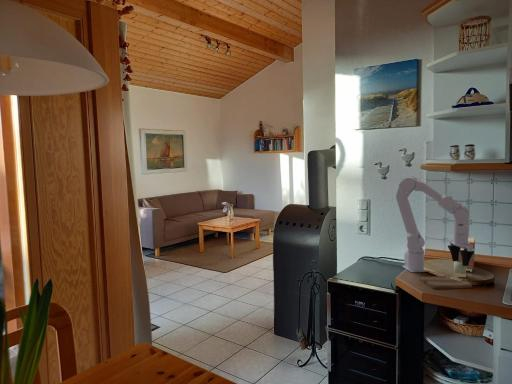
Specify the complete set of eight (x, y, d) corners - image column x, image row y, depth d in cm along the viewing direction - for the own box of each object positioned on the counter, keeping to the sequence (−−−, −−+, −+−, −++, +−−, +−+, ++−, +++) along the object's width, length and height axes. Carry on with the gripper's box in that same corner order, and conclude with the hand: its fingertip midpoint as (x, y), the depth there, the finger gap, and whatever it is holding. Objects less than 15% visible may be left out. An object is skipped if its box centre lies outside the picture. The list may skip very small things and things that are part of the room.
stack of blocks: (472, 272, 178) (473, 246, 177) (457, 271, 181) (458, 245, 180) (474, 261, 197) (475, 237, 195) (460, 259, 200) (461, 236, 199)
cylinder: (451, 274, 177) (451, 261, 176) (461, 273, 177) (462, 260, 176) (457, 277, 172) (458, 264, 171) (468, 277, 172) (468, 263, 172)
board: (419, 279, 170) (419, 277, 170) (455, 278, 171) (455, 275, 171) (434, 289, 158) (434, 286, 158) (472, 287, 159) (472, 284, 159)
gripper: (480, 236, 166) (479, 267, 167) (460, 229, 180) (459, 258, 181) (464, 237, 165) (463, 268, 166) (445, 230, 179) (444, 259, 181)
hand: (460, 263), depth 174 cm, fingers open, 7 cm apart
